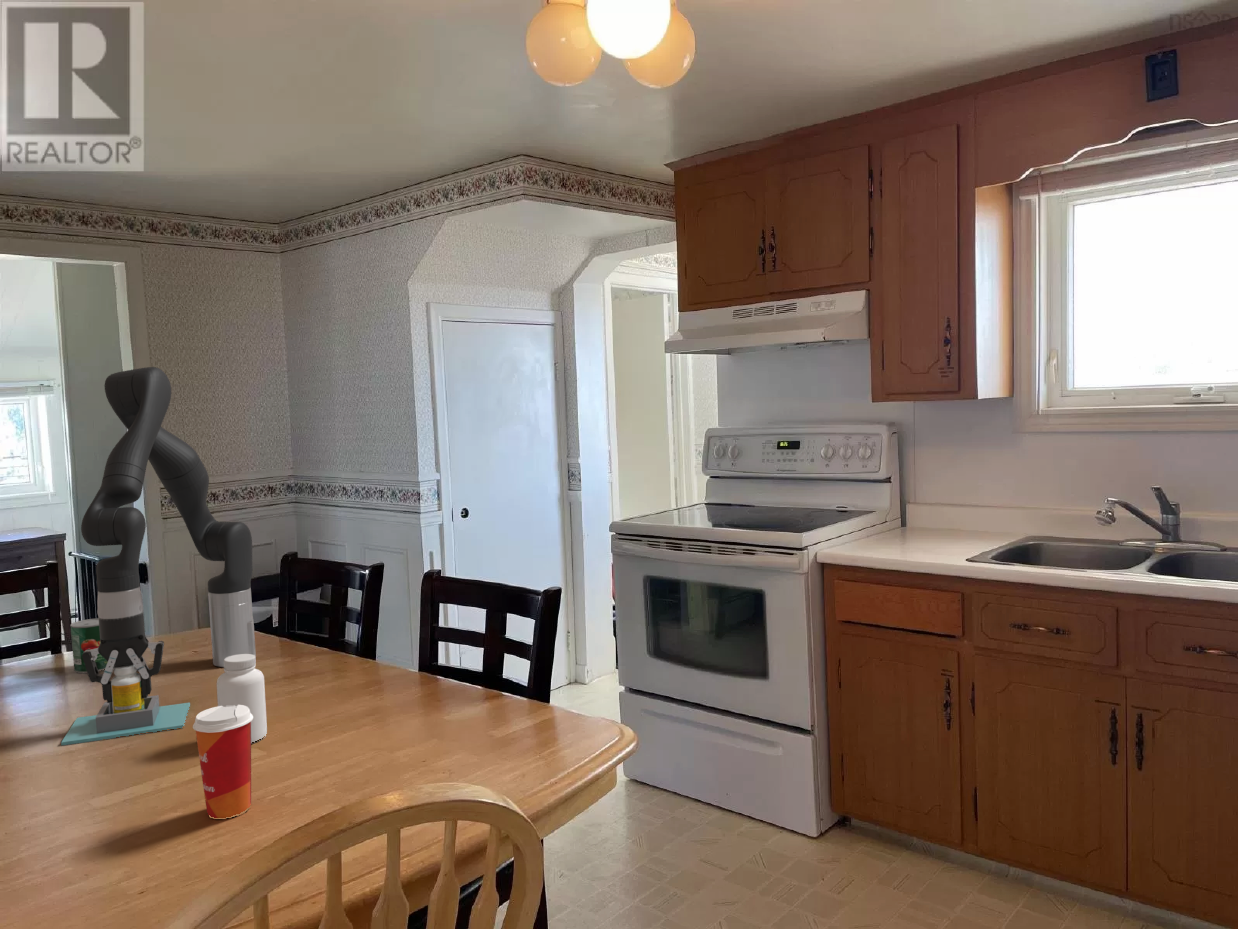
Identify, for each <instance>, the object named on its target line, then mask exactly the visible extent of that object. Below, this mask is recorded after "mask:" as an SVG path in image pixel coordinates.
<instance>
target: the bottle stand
mask: <svg viewBox="0 0 1238 929" xmlns="http://www.w3.org/2000/svg"><path fill="white" fill-rule="evenodd" d="M159 698H160V696H159V694H156V695H150V696H149V695H148V697H147V698H144V708H145V709H144V710H137V711H129V712H122V713H115V714H113V708H112V703H107V701H104V703H103V704H102V706H101V708H100V709H99V711H98V713H97V714H96V715H95V714H94V715H89V716H88V715H86V716H78V717H77V718H76V719H75V720H74V722H73V724H72V725H71V727H70V728H69V730H68V731H67V733H66V734H65V736H64V737H63V739H62V740H61V747H62V746H70V745H76V744H83V743H89V742H97V741H103V739H105V740H110V739H111V740H112V739H117V738H116V737H119V738H121V737H120V736H126V737H130V736H129V735H132V736H135V735H134V734H139V735H141V734H140V733H146V732H153V733H158V732H157V731H160V732H163V731H162V730H167V729H174V730H178V729H177V728H181V729H183V728H182V727H183V726H184V727H185V724H186V721H185V720H187V718H186V716H187V717H188V714H189V711H188V710H190V708H191V702H184V703H176V704H169V705H168V704H167V705H160V699H159ZM189 707H190V708H189ZM187 713H188V714H187ZM184 723H185V724H184ZM167 731H168V730H167ZM146 734H147V733H146Z"/></svg>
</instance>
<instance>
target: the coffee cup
mask: <svg viewBox="0 0 1238 929" xmlns="http://www.w3.org/2000/svg"><path fill="white" fill-rule="evenodd" d="M252 719H253V715H252V714H251V713H250V710H249V708H248V707H247V706H244V705H238V706H235V705H226V707H223V706H218V705H217V706H213V707H210V708H207V709H204V710H202V711H200V712H198V713H197V715H196V716H195V720H194V723H193V724H192V729H193V730H194V731H195V735H196V736H195V737H196V742H197V750H198V759H199V765H200V772H201V779H202V787H203V795H204V799H205V800H204V801H205V807H206V813H208V814H207V816H208V815H210V816H211V817H214V818H226V817H231V816H233V815H236V814H240V813H241V812H243V811H245V810H246V809H247V808H249V807H250V805H251V806H252V743H251V721H252Z"/></svg>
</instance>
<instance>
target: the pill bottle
mask: <svg viewBox="0 0 1238 929" xmlns="http://www.w3.org/2000/svg"><path fill="white" fill-rule="evenodd" d="M256 658H257V657H255V656H254V655H252V654H238V655H233V656H229V657H227V658H225V659H224V667H223V671H224V672H223V673H221V674H220V675H219V676H218V678H217V681H216V693H217V694H216V695H217V696H216V697H217V706H223V707H226V705H235V706H238V705H244V706H247V707H248V708H249V710H250V713H251V714H252V715H253V719H252V721H251V744H253V743H252V742H254V743H256V742H255V741H257V740H259V739H261V740H263V739H264V738H265V737H266V736H267V735H266V734H268V726H267V725H268V724H267V722H268V721H267V720H268V719H267V705H266V690H265V687H266V686H265V675H264V674H263V671H261V670H260V669H258V668H256V663H257V662H256ZM264 736H265V737H264ZM263 737H264V738H263ZM262 738H263V739H262ZM259 741H260V740H259ZM257 742H258V741H257Z"/></svg>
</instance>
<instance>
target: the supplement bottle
mask: <svg viewBox="0 0 1238 929" xmlns="http://www.w3.org/2000/svg"><path fill="white" fill-rule="evenodd" d="M138 672H139V671H138V670H137V669H136V667H135V666H134V665H122V666H119V667H114V669H113V674H114V676H113V677H112V679H110V681H111V694H112V708H113V714H115V713H122V712H129V711H137V710H144V709H145V708H144V698H143V695H142V682H141V680H142V676H141V674H140V673H138Z"/></svg>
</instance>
